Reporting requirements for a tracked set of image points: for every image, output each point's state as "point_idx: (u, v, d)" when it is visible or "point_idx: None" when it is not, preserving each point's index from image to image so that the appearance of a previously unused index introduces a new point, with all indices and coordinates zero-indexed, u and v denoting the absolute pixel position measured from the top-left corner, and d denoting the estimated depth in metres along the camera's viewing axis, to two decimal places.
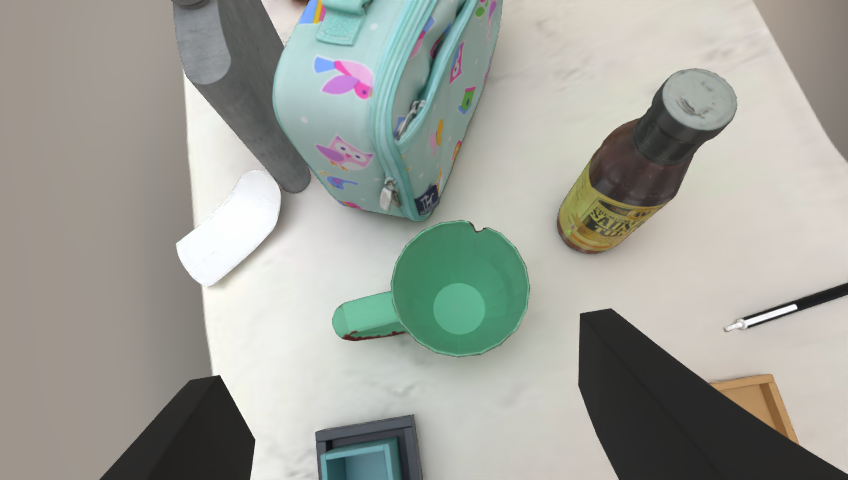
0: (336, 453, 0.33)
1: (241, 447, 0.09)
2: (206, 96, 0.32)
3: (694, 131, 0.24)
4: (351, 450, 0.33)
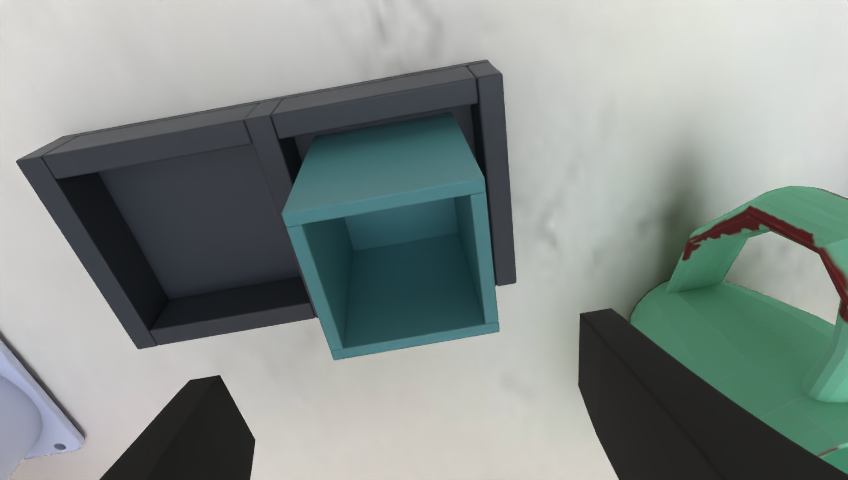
0: (485, 220, 0.12)
1: (240, 447, 0.09)
2: None
3: None
4: (489, 253, 0.12)
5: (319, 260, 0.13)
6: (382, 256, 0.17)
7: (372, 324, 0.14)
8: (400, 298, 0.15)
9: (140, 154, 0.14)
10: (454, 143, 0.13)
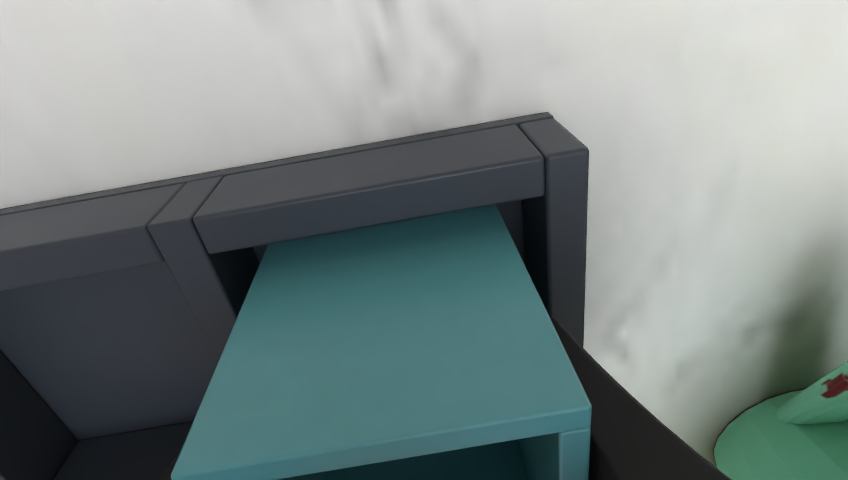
0: (584, 468, 0.06)
1: None
2: None
3: None
4: None
5: None
6: None
7: None
8: None
9: None
10: (507, 276, 0.08)
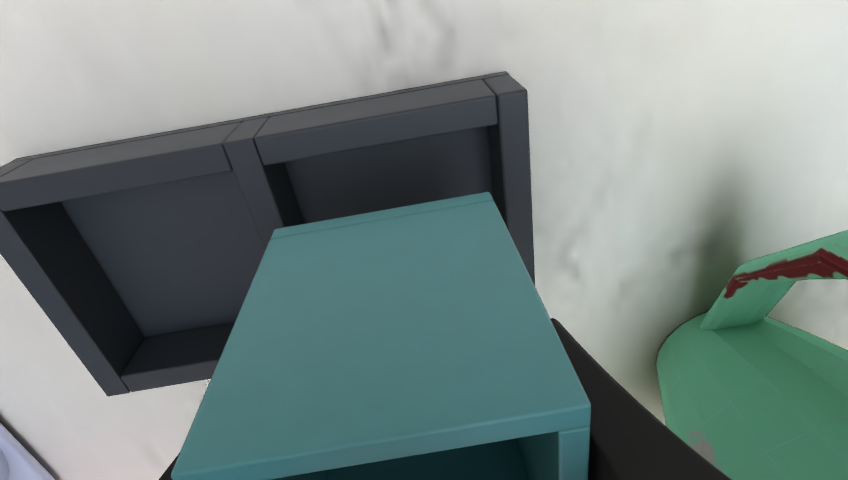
0: (584, 467, 0.06)
1: None
2: None
3: None
4: None
5: None
6: None
7: None
8: None
9: (101, 183, 0.12)
10: (506, 275, 0.08)
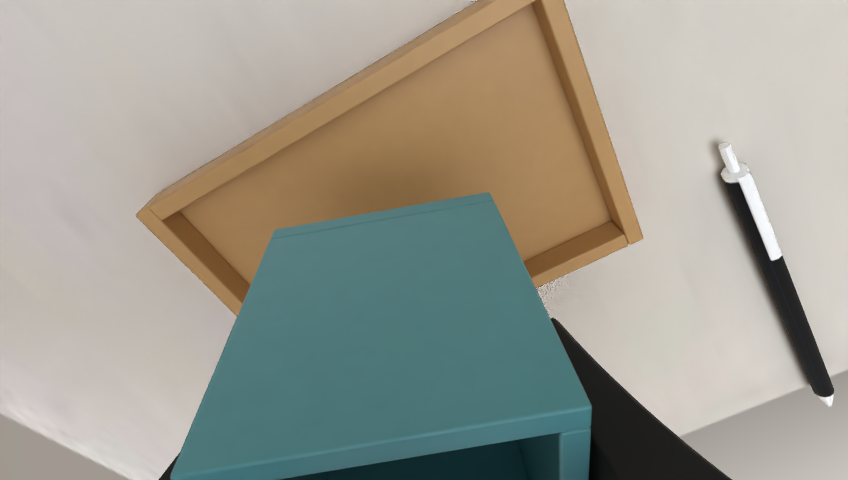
0: (584, 468, 0.06)
1: None
2: None
3: None
4: None
5: None
6: None
7: None
8: None
9: None
10: (507, 276, 0.08)
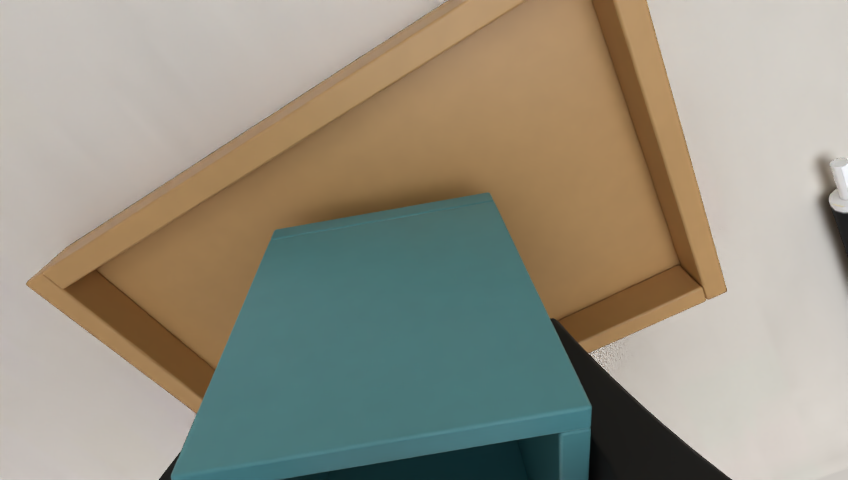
0: (584, 468, 0.06)
1: None
2: None
3: None
4: None
5: None
6: None
7: None
8: None
9: None
10: (507, 276, 0.08)
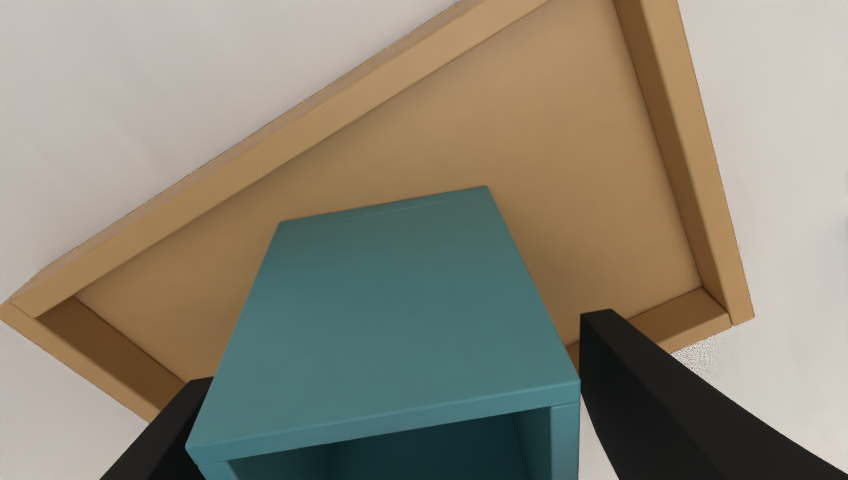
0: (575, 441, 0.06)
1: None
2: None
3: None
4: None
5: None
6: None
7: None
8: None
9: None
10: (503, 263, 0.08)
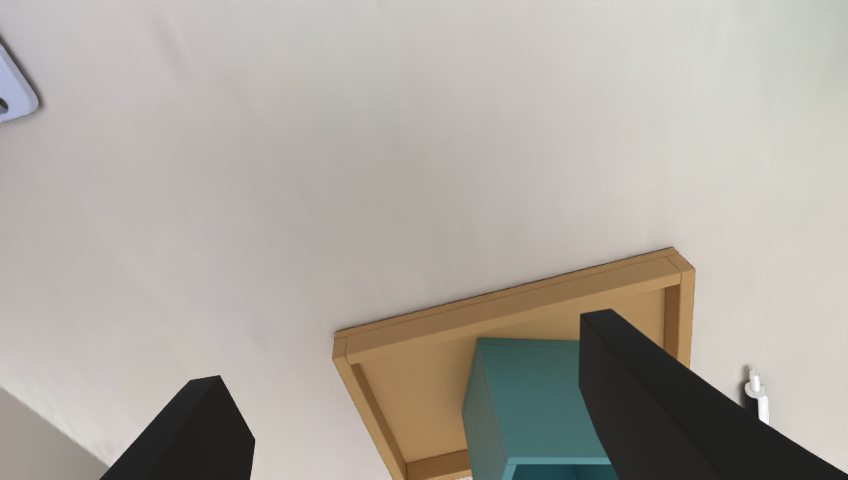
0: None
1: (241, 447, 0.09)
2: None
3: None
4: None
5: None
6: None
7: None
8: None
9: None
10: None
